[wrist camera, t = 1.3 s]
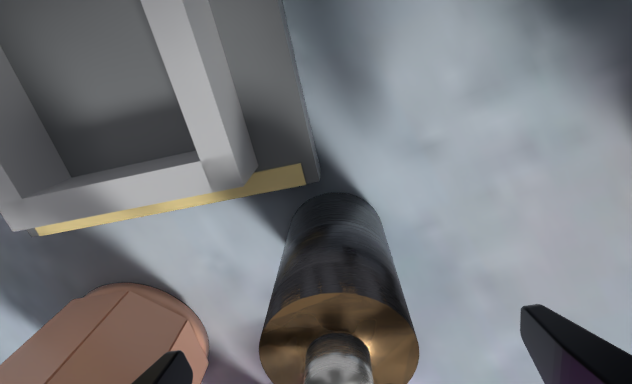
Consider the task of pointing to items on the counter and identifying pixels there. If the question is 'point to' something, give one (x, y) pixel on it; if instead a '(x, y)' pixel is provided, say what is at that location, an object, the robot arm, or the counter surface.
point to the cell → (337, 301)
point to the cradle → (145, 109)
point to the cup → (109, 339)
